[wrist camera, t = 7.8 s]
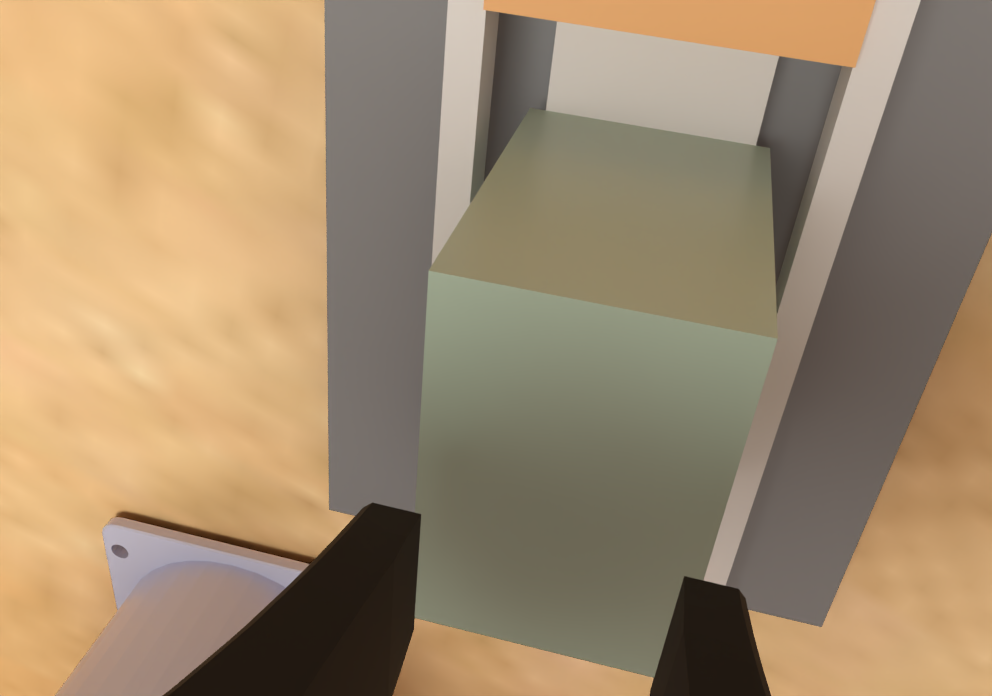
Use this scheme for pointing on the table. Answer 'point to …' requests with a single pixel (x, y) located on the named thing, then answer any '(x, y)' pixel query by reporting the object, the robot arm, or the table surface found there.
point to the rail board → (702, 112)
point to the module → (591, 383)
